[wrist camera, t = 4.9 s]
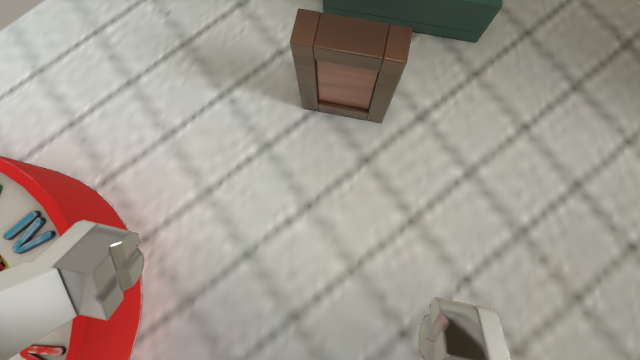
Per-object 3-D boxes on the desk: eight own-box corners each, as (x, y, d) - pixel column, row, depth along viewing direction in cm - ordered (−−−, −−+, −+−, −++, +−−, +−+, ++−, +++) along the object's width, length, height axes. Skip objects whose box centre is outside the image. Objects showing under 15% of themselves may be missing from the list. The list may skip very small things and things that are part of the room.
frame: (381, 123, 27) (406, 63, 18) (302, 108, 27) (289, 42, 19) (386, 98, 27) (413, 27, 18) (308, 84, 28) (298, 7, 19)
